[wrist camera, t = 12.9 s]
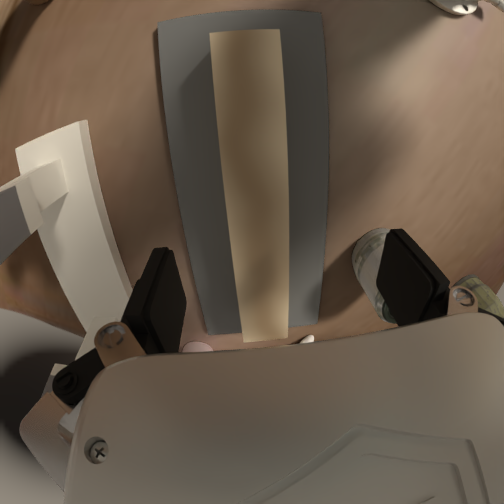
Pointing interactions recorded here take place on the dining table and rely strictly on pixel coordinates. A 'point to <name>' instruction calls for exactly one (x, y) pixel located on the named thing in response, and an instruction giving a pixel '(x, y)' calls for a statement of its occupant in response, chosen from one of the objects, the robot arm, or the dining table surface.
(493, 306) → the thermos
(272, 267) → the rail
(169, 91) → the mat
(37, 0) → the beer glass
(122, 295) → the hook stand
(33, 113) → the dining table surface
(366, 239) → the camera lens
